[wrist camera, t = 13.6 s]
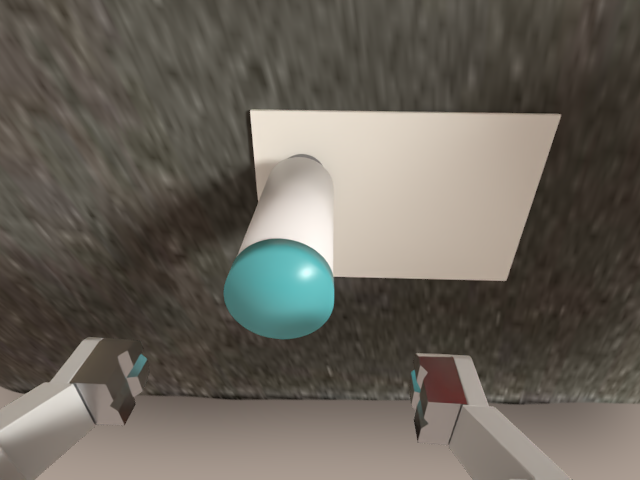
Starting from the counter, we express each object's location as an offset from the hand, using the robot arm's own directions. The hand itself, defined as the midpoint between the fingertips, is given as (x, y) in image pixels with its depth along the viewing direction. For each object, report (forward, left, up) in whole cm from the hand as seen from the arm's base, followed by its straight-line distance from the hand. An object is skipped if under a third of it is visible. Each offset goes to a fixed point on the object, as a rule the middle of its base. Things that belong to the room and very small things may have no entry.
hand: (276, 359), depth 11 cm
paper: (-6, +2, -15) cm, 16 cm away
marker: (0, 0, -15) cm, 15 cm away
